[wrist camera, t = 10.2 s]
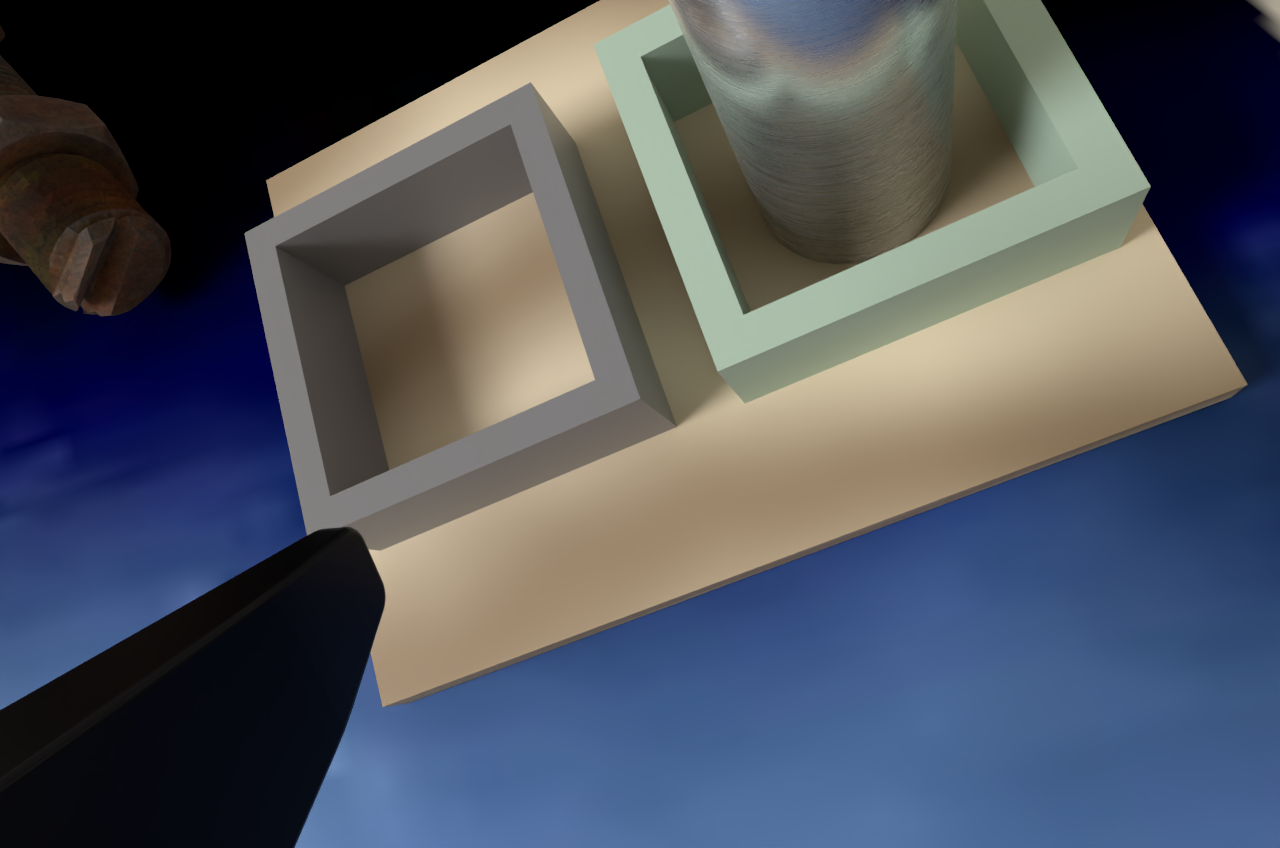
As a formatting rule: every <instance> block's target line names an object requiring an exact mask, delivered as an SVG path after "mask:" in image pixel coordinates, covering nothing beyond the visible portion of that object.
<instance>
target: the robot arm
mask: <svg viewBox="0 0 1280 848" xmlns="http://www.w3.org/2000/svg"><path fill="white" fill-rule="evenodd" d="M385 600H386V595H385V588H384V584H383V581H382V579H381V577H380V574H379V572H378V570H377V568H376V565H375V563H374V561H373V559H372V556H371V554H370V552H369V549H368V547H367V545H366V543H365V540H364V538H363V537H362V535H361V534H360V533H359V532H358V531H357V530H356V529H354V528H352V527H339V528H326V529H320V530H317V531H315V532H313V533H311V534H309V535H307V536H306V537H304V538H302V539H300V540H299V541H297V542H295V543H293V544H292V545H290V546H288V547H286V548H285V549H283V550H281V551H279V552H278V553H276V554H274V555H272V556H271V557H269V558H267V559H265V560H263V561H262V562H260V563H258V564H256V565H255V566H253V567H251V568H249V569H248V570H246V571H244V572H242V573H241V574H239V575H237V576H235V577H234V578H232V579H230V580H228V581H227V582H225V583H223V584H221V585H220V586H218V587H216V588H214V589H213V590H211V591H209V592H207V593H206V594H204V595H202V596H200V597H198V598H197V599H195V600H193V601H191V602H190V603H188V604H186V605H184V606H183V607H181V608H179V609H177V610H176V611H174V612H172V613H170V614H169V615H167V616H165V617H163V618H162V619H160V620H158V621H156V622H155V623H153V624H151V625H149V626H148V627H146V628H144V629H142V630H140V631H139V632H137V633H135V634H133V635H132V636H130V637H128V638H126V639H125V640H123V641H121V642H119V643H118V644H116V645H114V646H112V647H111V648H109V649H107V650H105V651H104V652H102V653H100V654H98V655H97V656H95V657H93V658H91V659H90V660H88V661H86V662H84V663H82V664H81V665H79V666H77V667H75V668H74V669H72V670H70V671H68V672H67V673H65V674H63V675H61V676H60V677H58V678H56V679H54V680H53V681H51V682H49V683H47V684H46V685H44V686H42V687H40V688H39V689H37V690H35V691H33V692H32V693H30V694H28V695H26V696H24V697H23V698H21V699H19V700H17V701H16V702H14V703H12V704H10V705H9V706H7V707H5V708H3V709H2V710H0V848H295V845H296V843H297V841H298V838H299V836H300V834H301V831H302V829H303V827H304V825H305V822H306V820H307V818H308V815H309V813H310V811H311V808H312V806H313V804H314V801H315V799H316V797H317V795H318V792H319V790H320V788H321V785H322V783H323V781H324V778H325V776H326V774H327V771H328V769H329V767H330V764H331V762H332V760H333V758H334V755H335V753H336V751H337V748H338V746H339V743H340V741H341V738H342V736H343V733H344V731H345V728H346V725H347V722H348V720H349V717H350V714H351V711H352V708H353V705H354V702H355V699H356V696H357V692H358V689H359V686H360V683H361V680H362V677H363V674H364V671H365V667H366V664H367V661H368V658H369V655H370V652H371V649H372V645H373V642H374V639H375V636H376V633H377V630H378V627H379V624H380V620H381V617H382V614H383V611H384V607H385Z"/></svg>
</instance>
